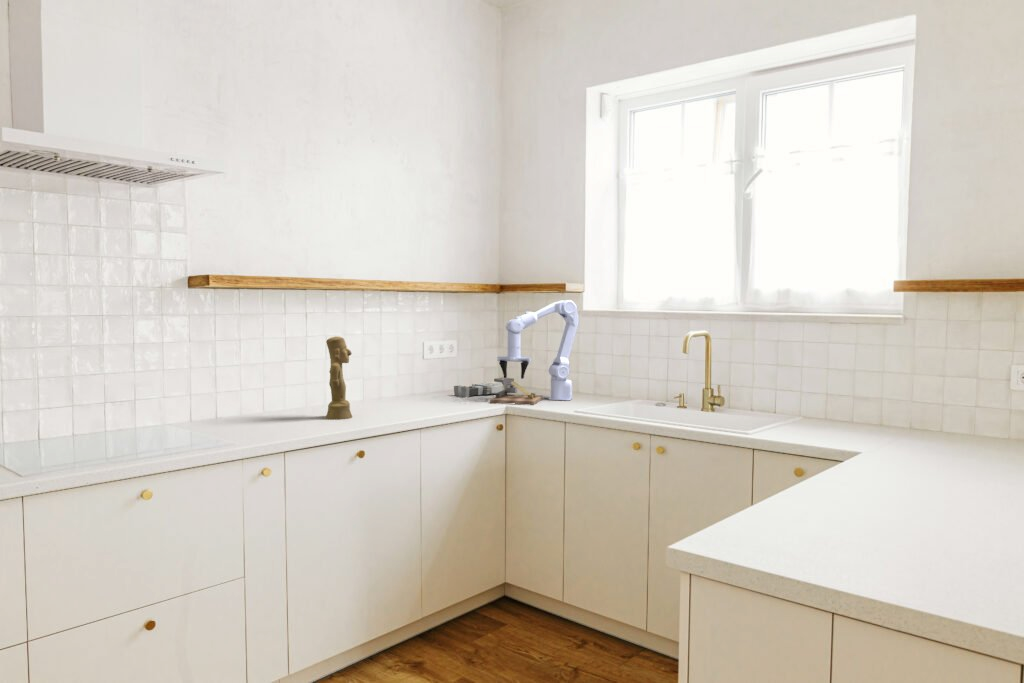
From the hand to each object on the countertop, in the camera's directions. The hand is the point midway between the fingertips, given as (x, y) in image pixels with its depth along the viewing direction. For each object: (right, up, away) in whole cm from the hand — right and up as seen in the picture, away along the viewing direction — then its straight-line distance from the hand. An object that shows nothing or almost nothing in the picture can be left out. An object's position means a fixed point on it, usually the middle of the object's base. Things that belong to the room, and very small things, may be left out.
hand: (513, 378), depth 322 cm
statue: (-65, -12, -48) cm, 82 cm away
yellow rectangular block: (+4, -5, -1) cm, 6 cm away
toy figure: (-13, -9, +23) cm, 28 cm away
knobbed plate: (-1, -7, +8) cm, 10 cm away
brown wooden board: (+1, -10, 0) cm, 10 cm away
